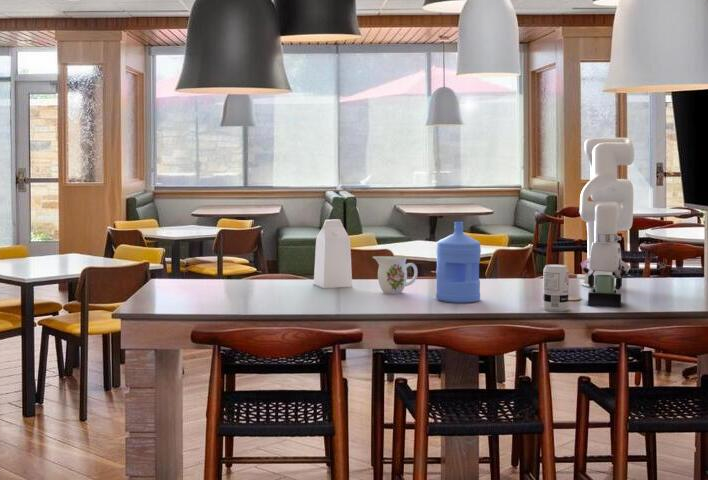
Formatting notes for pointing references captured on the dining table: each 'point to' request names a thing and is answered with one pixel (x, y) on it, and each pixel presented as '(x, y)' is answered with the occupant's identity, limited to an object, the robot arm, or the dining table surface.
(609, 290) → the cup
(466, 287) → the water jug
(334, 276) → the milk
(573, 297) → the coaster
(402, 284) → the pitcher
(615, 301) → the black square frame
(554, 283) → the supplement can
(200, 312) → the dining table surface
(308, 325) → the dining table surface
